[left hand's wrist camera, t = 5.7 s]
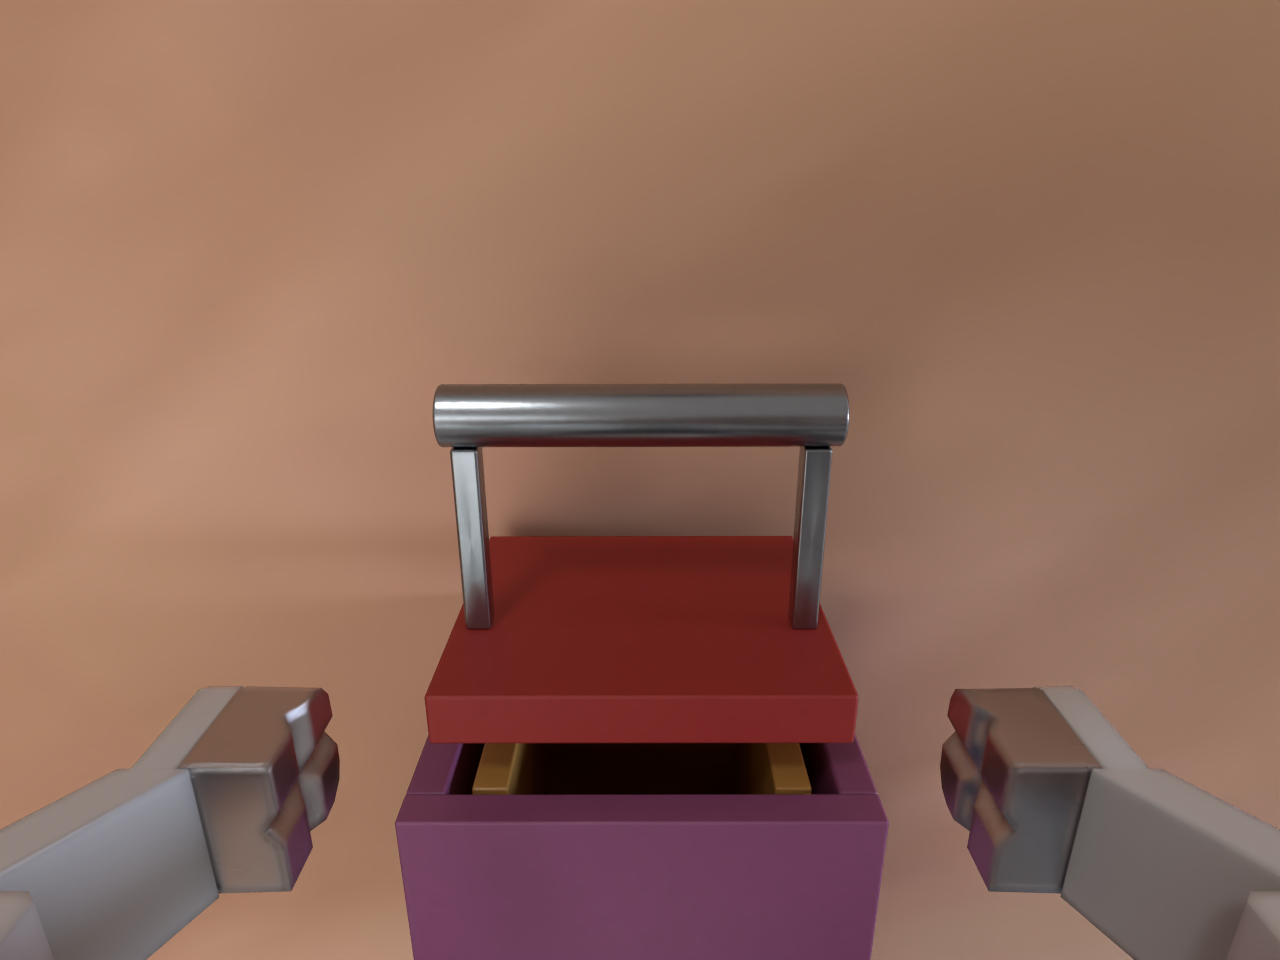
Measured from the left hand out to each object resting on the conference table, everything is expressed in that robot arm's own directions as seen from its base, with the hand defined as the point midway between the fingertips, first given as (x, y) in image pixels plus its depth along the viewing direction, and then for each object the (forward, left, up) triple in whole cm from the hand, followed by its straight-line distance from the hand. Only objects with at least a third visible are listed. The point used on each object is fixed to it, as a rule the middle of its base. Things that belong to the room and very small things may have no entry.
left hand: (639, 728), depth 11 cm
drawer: (-4, +5, -13) cm, 14 cm away
